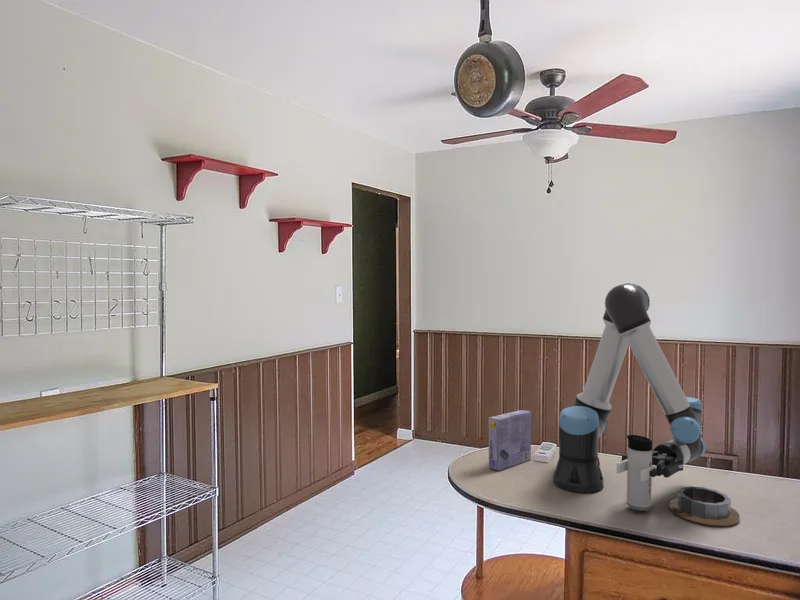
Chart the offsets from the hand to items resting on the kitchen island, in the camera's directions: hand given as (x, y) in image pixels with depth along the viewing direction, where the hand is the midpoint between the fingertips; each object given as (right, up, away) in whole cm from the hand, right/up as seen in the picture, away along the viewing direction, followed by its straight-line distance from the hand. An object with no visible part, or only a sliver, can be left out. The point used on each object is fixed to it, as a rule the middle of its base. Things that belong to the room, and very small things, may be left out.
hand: (629, 472), depth 152 cm
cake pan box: (-24, -10, +42) cm, 50 cm away
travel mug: (+4, -11, +4) cm, 12 cm away
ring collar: (+21, -12, +2) cm, 25 cm away
